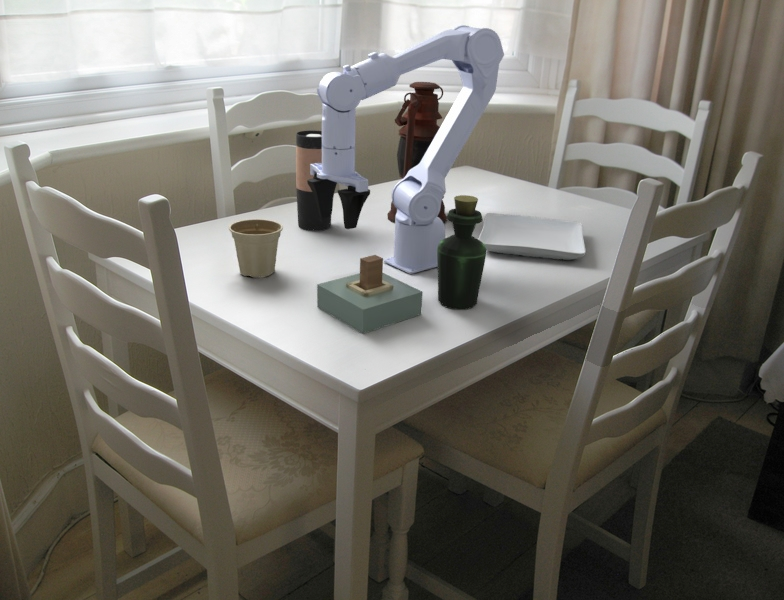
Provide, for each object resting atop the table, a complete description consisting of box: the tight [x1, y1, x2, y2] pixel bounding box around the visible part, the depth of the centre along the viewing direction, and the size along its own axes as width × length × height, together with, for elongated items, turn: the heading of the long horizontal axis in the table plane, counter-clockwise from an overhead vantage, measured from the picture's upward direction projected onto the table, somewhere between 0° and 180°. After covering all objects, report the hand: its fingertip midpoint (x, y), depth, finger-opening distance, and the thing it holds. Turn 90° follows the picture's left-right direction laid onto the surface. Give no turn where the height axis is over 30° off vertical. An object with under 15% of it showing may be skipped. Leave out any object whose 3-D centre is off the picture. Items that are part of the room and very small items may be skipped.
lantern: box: [387, 81, 448, 225], centre depth 157 cm, size 17×14×30 cm
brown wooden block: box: [359, 254, 384, 291], centre depth 113 cm, size 2×3×8 cm, turn 130°
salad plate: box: [477, 212, 587, 261], centre depth 149 cm, size 21×21×3 cm
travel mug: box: [295, 129, 332, 232], centre depth 151 cm, size 8×8×20 cm
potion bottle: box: [437, 194, 488, 311], centre depth 116 cm, size 8×8×18 cm
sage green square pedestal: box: [316, 272, 424, 334], centre depth 114 cm, size 12×12×5 cm
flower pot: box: [228, 218, 284, 279], centre depth 127 cm, size 9×9×9 cm
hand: (337, 222), depth 126 cm, fingers open, 7 cm apart
